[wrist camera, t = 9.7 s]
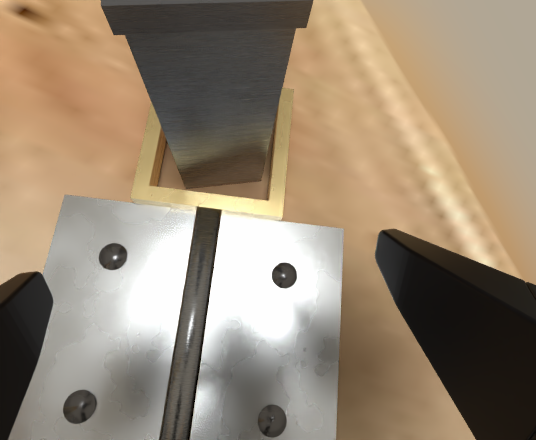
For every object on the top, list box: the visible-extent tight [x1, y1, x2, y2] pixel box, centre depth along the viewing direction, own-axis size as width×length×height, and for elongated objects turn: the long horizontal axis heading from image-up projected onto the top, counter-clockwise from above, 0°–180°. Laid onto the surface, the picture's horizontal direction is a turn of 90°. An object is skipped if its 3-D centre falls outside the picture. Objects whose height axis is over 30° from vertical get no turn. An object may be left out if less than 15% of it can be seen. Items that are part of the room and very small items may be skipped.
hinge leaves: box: [8, 88, 344, 440], centre depth 17 cm, size 21×15×2 cm
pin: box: [101, 0, 313, 189], centre depth 14 cm, size 5×5×12 cm
